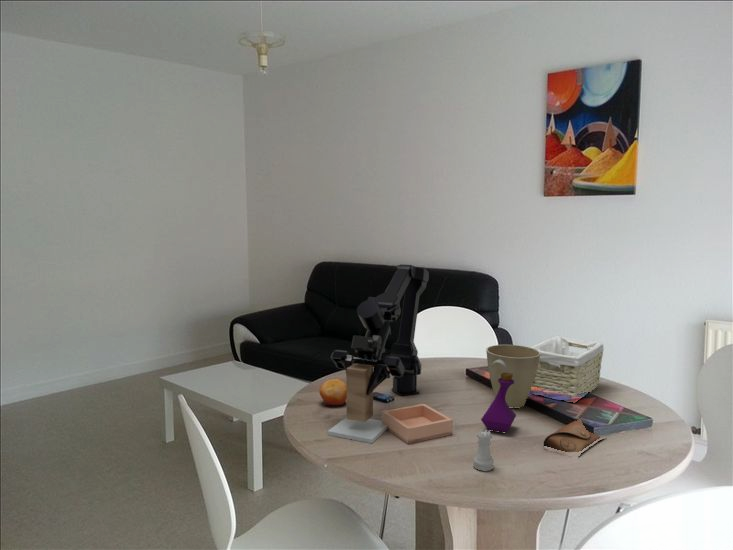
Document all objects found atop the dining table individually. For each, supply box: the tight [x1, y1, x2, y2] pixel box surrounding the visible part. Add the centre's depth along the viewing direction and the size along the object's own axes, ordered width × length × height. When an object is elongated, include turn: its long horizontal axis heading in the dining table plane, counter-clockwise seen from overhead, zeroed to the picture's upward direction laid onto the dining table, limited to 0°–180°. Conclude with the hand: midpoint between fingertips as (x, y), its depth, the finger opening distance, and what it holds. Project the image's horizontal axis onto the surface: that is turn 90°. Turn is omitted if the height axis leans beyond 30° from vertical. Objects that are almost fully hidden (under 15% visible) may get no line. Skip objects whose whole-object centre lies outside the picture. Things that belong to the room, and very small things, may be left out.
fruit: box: [318, 378, 347, 406], centre depth 157 cm, size 8×8×8 cm
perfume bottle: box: [480, 360, 517, 433], centre depth 138 cm, size 8×8×18 cm
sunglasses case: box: [543, 417, 600, 452], centre depth 131 cm, size 18×7×7 cm, turn 136°
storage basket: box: [530, 335, 604, 396], centre depth 170 cm, size 24×16×15 cm
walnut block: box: [346, 363, 374, 422], centre depth 137 cm, size 5×5×13 cm
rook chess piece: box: [472, 429, 495, 472], centre depth 118 cm, size 4×4×8 cm
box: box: [381, 403, 454, 445], centre depth 138 cm, size 13×13×4 cm
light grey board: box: [327, 416, 388, 444], centre depth 138 cm, size 12×12×1 cm
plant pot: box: [485, 344, 540, 408], centre depth 157 cm, size 15×15×16 cm
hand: (357, 392), depth 135 cm, fingers closed on walnut block, 5 cm apart
